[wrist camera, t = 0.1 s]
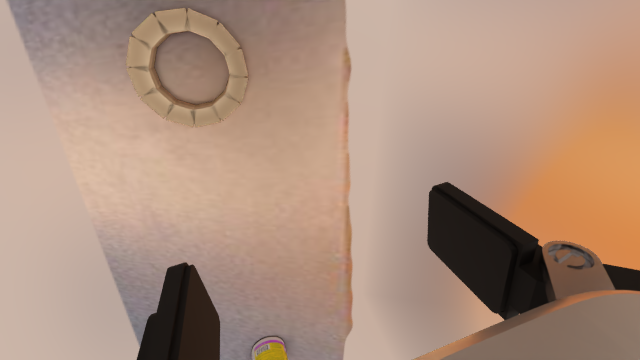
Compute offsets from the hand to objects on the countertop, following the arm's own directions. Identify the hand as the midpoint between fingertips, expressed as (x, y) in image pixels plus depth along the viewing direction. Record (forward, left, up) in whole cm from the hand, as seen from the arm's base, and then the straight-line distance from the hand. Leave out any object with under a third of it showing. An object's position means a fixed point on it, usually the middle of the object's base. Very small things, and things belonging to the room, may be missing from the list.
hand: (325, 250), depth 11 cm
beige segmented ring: (-5, -6, -31) cm, 32 cm away
